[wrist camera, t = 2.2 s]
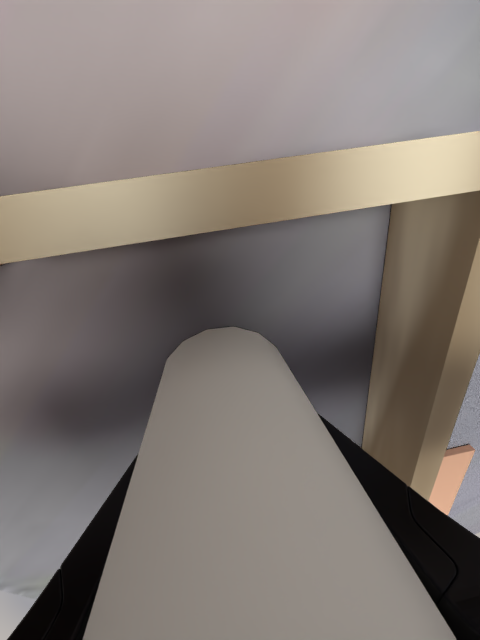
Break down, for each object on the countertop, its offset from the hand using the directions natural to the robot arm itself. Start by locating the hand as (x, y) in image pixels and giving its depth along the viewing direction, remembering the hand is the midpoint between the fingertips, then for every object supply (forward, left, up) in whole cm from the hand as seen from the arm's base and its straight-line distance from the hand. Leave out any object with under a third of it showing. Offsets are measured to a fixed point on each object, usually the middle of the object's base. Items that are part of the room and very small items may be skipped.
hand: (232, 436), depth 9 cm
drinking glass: (0, 0, -3) cm, 3 cm away
